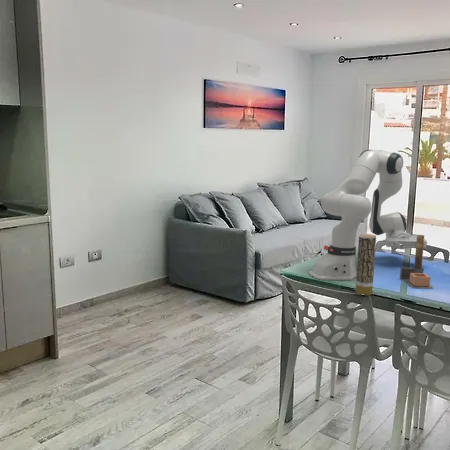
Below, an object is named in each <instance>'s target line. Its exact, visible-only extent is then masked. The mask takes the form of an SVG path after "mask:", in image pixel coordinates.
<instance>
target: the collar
mask: <svg viewBox="0 0 450 450" xmlns="http://www.w3.org/2000/svg"><path fill="white" fill-rule="evenodd" d="M409 282H411V283H412V284H413V285H414V286H430V285H431V276H430V275H428V274H426V273H424V272H423V273H410V280H409Z"/></svg>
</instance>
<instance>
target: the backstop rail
mask: <svg viewBox="0 0 450 450" xmlns="http://www.w3.org/2000/svg"><path fill="white" fill-rule="evenodd" d="M424 270H425V269H424V268H414V267H400V272H399V279H400V280H401V281H403V282H404V283H405V284H407V285H408V286H409V287H410V288H412V289H430V290H431V289H432V290H433V289H434V286H432V285H431V284H430V286H414V285H413V284H412V283H411V282H409V280H410V273H424V272H425V271H424Z"/></svg>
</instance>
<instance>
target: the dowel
mask: <svg viewBox="0 0 450 450" xmlns="http://www.w3.org/2000/svg"><path fill="white" fill-rule="evenodd" d="M416 235H417V242H416V248H415V257H414V265H413V266H414V267H413V268H422V266H423V254H424V248H423V246H424V239H425V235H424V234H416Z"/></svg>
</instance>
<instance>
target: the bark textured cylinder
mask: <svg viewBox="0 0 450 450" xmlns="http://www.w3.org/2000/svg"><path fill="white" fill-rule="evenodd" d="M376 243H377V235H375V234H371V233H362V234H359V235H358V245H357V248H358V249H357V261H356V274H357V275H356V277H355V279H356V280H355V294H356V293H358V294H364V295H367V296H366V297H369V296H372V295H373V288H374V287H373V286H374V272H375V260H376V259H375V258H376V247H377V246H376V245H377V244H376ZM358 294H357V295H358Z"/></svg>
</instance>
